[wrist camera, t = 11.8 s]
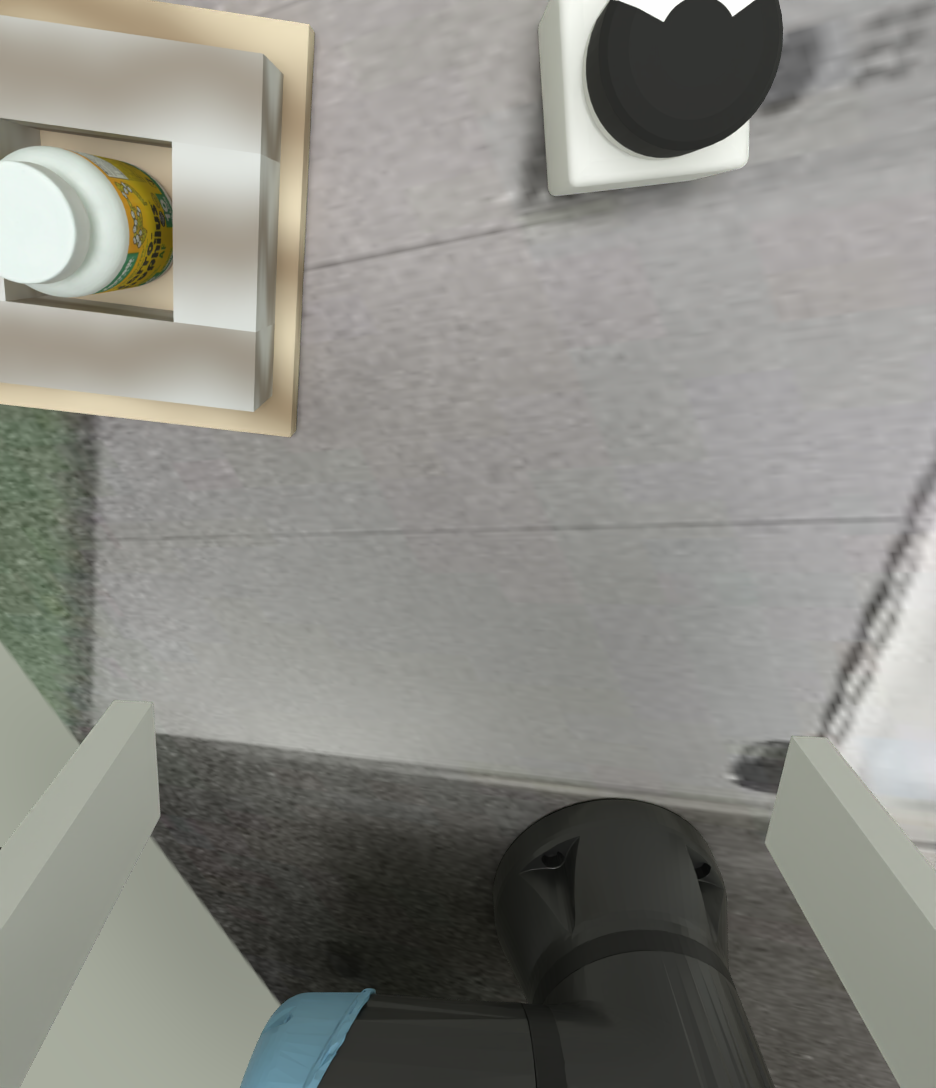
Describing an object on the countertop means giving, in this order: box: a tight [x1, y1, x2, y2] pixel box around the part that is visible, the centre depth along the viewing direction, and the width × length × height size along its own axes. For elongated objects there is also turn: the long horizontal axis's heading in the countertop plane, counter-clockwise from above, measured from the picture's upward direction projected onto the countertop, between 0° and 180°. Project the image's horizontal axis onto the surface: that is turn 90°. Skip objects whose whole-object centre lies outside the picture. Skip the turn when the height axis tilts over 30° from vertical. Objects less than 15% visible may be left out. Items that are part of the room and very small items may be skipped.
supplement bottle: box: [0, 146, 173, 297], centre depth 31 cm, size 5×5×10 cm
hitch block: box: [0, 0, 315, 437], centre depth 35 cm, size 18×16×6 cm
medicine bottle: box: [538, 0, 783, 196], centre depth 30 cm, size 7×7×12 cm
